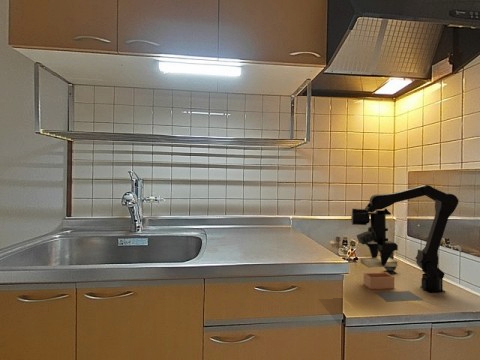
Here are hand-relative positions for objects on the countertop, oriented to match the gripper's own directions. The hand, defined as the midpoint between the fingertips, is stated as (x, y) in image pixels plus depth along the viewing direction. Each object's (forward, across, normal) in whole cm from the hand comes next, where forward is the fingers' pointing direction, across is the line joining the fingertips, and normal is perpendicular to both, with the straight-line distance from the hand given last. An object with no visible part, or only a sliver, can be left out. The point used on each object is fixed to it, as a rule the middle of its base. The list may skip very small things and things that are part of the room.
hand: (378, 262), depth 130 cm
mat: (+10, +11, +2) cm, 15 cm away
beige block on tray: (+1, 0, 0) cm, 1 cm away
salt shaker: (+10, -18, +15) cm, 26 cm away
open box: (+10, 0, 0) cm, 10 cm away
